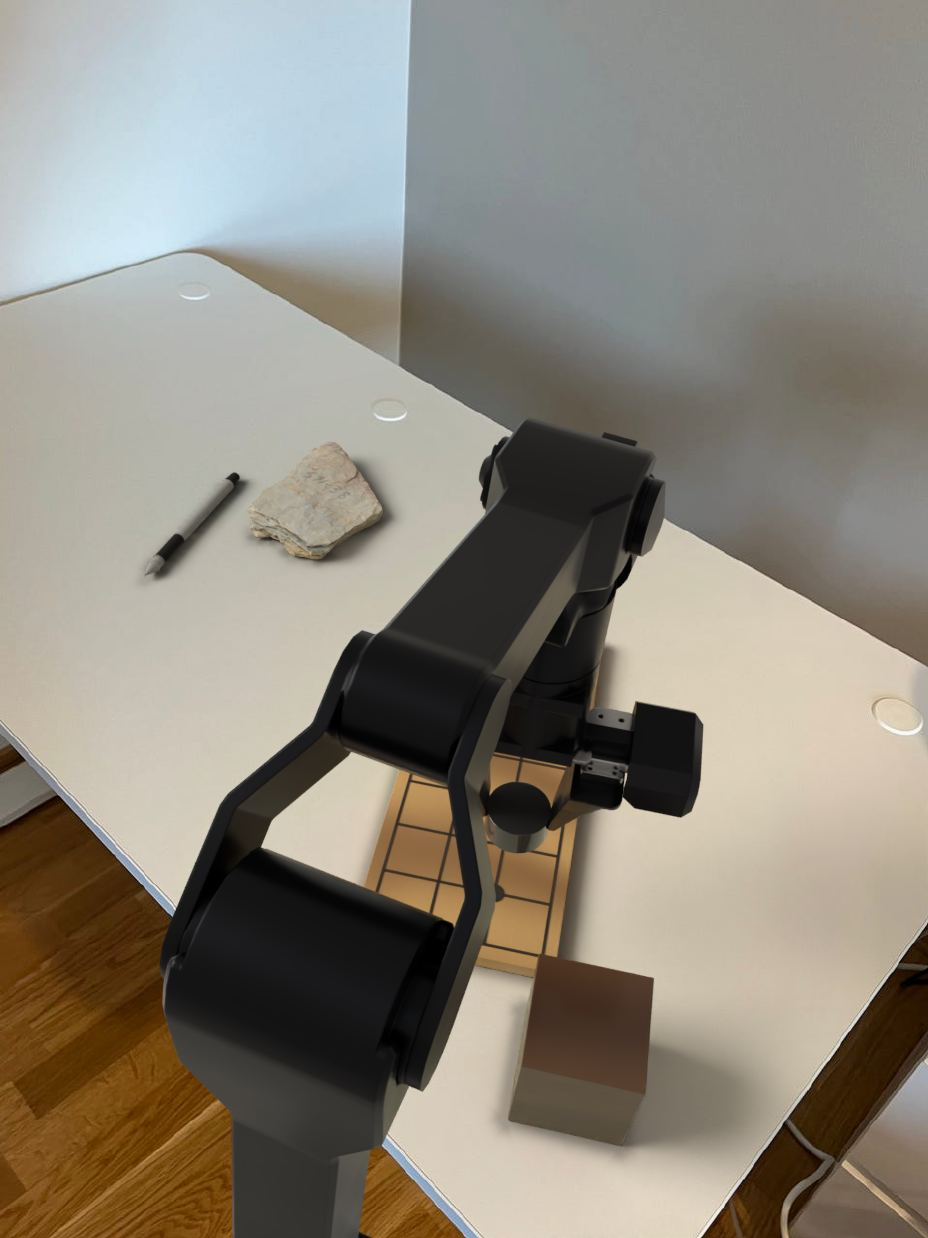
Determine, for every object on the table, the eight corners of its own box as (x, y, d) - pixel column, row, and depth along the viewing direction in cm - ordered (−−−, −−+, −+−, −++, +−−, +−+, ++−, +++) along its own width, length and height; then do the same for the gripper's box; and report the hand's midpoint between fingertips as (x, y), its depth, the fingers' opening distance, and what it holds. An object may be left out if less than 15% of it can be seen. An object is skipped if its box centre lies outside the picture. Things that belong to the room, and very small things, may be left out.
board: (552, 982, 72) (555, 973, 71) (350, 938, 73) (350, 929, 72) (601, 648, 94) (604, 637, 93) (446, 619, 96) (447, 609, 95)
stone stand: (621, 1147, 64) (645, 1094, 59) (507, 1120, 65) (520, 1066, 59) (631, 1035, 69) (654, 977, 64) (525, 1012, 70) (538, 952, 64)
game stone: (542, 859, 65) (546, 841, 64) (478, 846, 66) (481, 827, 64) (552, 807, 68) (555, 788, 67) (490, 794, 69) (493, 775, 67)
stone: (327, 456, 112) (327, 435, 110) (411, 493, 108) (412, 472, 106) (233, 529, 102) (231, 508, 101) (322, 572, 99) (321, 551, 97)
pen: (242, 482, 108) (241, 472, 107) (151, 583, 96) (149, 573, 95) (230, 479, 108) (229, 468, 107) (139, 579, 97) (136, 568, 96)
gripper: (731, 574, 60) (675, 747, 71) (408, 516, 62) (402, 694, 73) (727, 722, 52) (664, 891, 63) (357, 651, 54) (358, 828, 65)
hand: (517, 817), depth 66 cm, fingers closed on game stone, 4 cm apart
